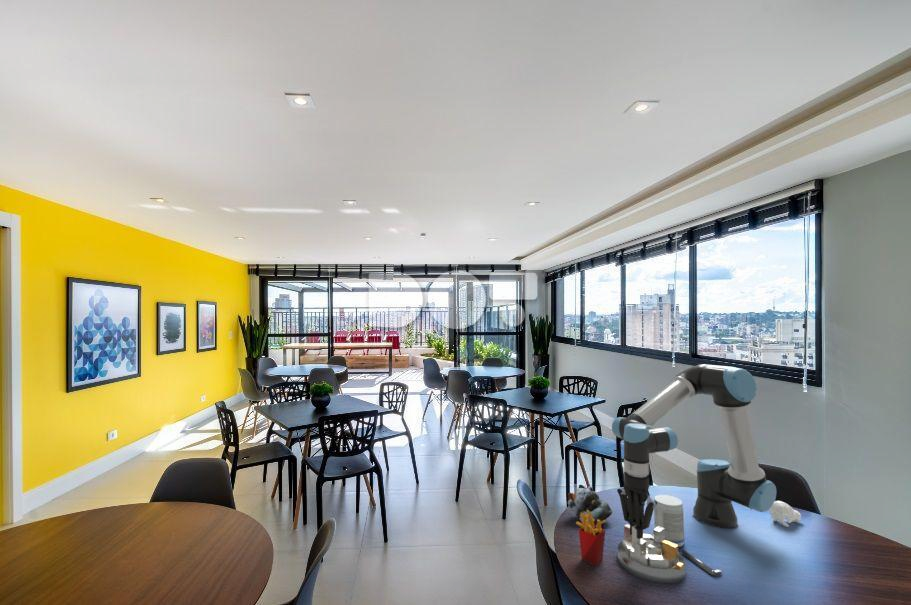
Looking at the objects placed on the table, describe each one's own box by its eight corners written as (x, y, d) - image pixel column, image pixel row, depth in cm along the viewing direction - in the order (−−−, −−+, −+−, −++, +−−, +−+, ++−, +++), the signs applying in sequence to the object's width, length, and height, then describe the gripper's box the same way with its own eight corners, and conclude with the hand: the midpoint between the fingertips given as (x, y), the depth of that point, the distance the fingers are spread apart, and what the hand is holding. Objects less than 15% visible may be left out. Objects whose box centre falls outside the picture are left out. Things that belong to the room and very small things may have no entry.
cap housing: (656, 544, 145) (656, 526, 146) (700, 579, 126) (699, 559, 126) (606, 549, 141) (605, 532, 142) (643, 586, 122) (642, 566, 122)
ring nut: (618, 539, 142) (618, 522, 143) (665, 542, 141) (665, 524, 141) (633, 566, 127) (633, 546, 127) (685, 569, 125) (685, 550, 125)
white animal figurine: (767, 498, 164) (791, 498, 166) (766, 519, 163) (790, 519, 165) (782, 505, 157) (807, 505, 160) (781, 527, 157) (806, 527, 159)
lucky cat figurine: (590, 532, 153) (572, 495, 157) (574, 530, 163) (557, 495, 167) (619, 513, 159) (600, 478, 163) (601, 512, 169) (584, 479, 174)
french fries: (606, 559, 136) (606, 514, 136) (594, 570, 130) (594, 522, 130) (582, 549, 142) (581, 505, 142) (570, 558, 136) (569, 513, 137)
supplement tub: (689, 543, 146) (688, 501, 147) (675, 551, 141) (674, 508, 141) (663, 531, 154) (662, 492, 155) (649, 538, 149) (648, 498, 150)
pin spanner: (681, 554, 139) (681, 549, 139) (689, 553, 140) (689, 548, 140) (712, 577, 127) (712, 572, 127) (721, 575, 128) (721, 570, 128)
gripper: (611, 468, 135) (611, 540, 134) (648, 482, 124) (648, 560, 123) (625, 464, 139) (625, 534, 138) (662, 477, 128) (662, 553, 128)
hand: (636, 546), depth 131 cm, fingers closed
